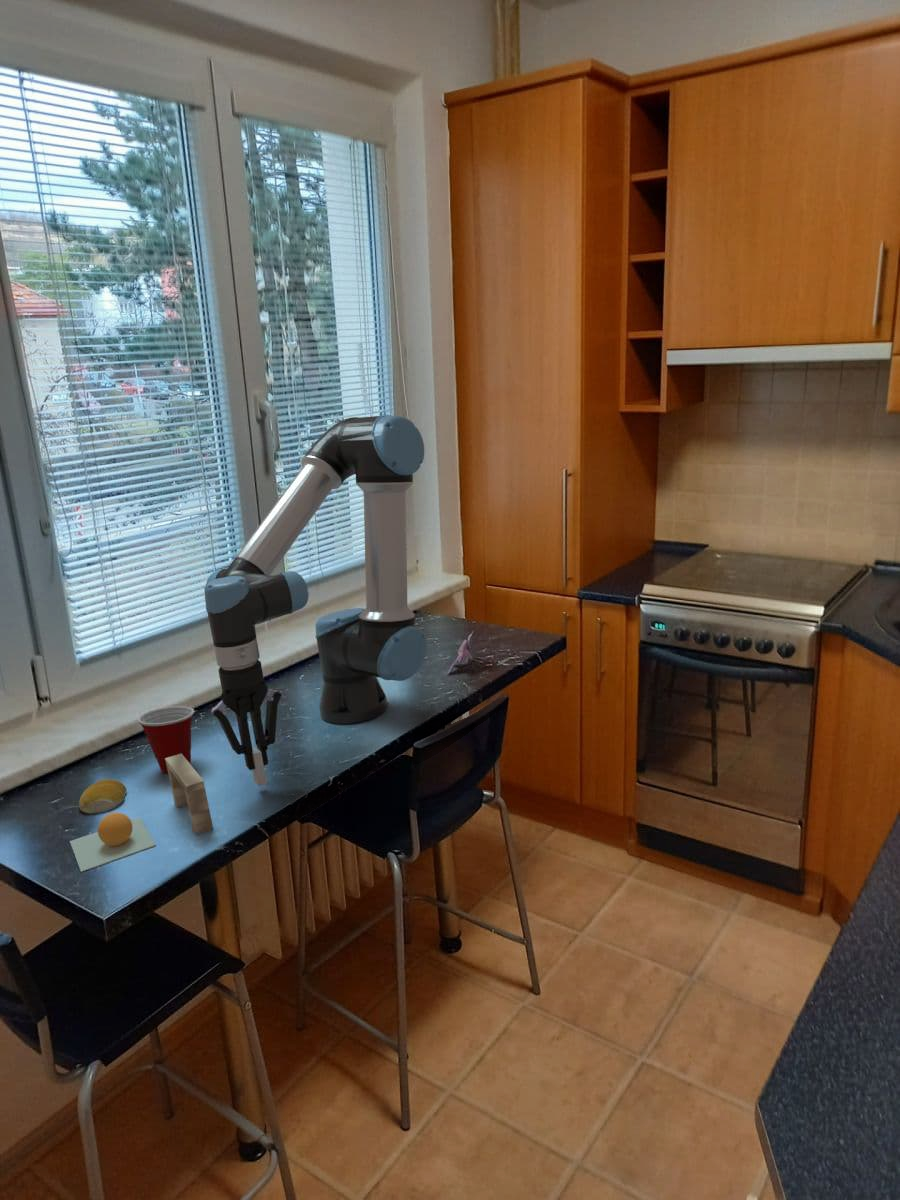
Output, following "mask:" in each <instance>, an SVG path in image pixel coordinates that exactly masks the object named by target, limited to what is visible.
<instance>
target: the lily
mask: <svg viewBox="0 0 900 1200" xmlns="http://www.w3.org/2000/svg"><path fill="white" fill-rule="evenodd" d="M474 632H475V630H473V631H472V633H471V634H469V635H468V637H467V640H466V639H464V640H463V641H462V643H461V645H460V647H457V648H455V650H454V651H455V652H458V655H457V658H456V660H455V662H453V663H452V664H451V666H450V668H449V669H448V672H447V674H450V671H451V669H452V668H453V666H454V665H455V664H456V663H458V662H461V661H463V660H466V659H469V658H471V659H472V660H473V661H474V662H476V664H477V665H478V666H479V667H480V666H481V665H480V663H479V662H478V660H476V658H475V657H473V656H472V655H471V651H470V641H471V637H472V635H473V634H474Z"/></svg>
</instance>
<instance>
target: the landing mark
mask: <svg viewBox="0 0 900 1200" xmlns="http://www.w3.org/2000/svg"><path fill="white" fill-rule="evenodd" d="M130 820H131V822H132V833H131V836H130V837H129V839H128V840H127V841H126V842H125V843H123V844H121V845H118V846H109V845H107V844H105V843H103V842H102V841H101V839H100V838H99V835H98V831H96V832H93V833H90V834H86V835H83V836H81V837H79V838H75V839H73V840H72V839H71V840H69V844H70V846H71V849H72V851H73V854H75V855H74V857H75V860H76V863H77V865H78V868H79V870H80V873H84V872H87V871H90V870H92V869H95V868H98V867H101V866H103V865H106V864H109V863H111V862H115V861H118V860H120V859H123V858H126V857H128V856H130V855H134V854H137V853H139V852H143V851H145V850H148V849H150V848H154V847H156V846H157V844H156V843H155V841H154V839H153V838H152V836H151V834H150V832H149V830H148V829H147V827H146V825H145V823H144V821H143V820H142V818H141V817H136V818H134V819H130ZM89 869H90V870H89ZM86 870H87V871H86ZM83 871H84V872H83Z"/></svg>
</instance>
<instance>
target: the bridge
mask: <svg viewBox="0 0 900 1200" xmlns="http://www.w3.org/2000/svg"><path fill="white" fill-rule="evenodd" d="M165 760H166V765H167V770H168V774H167V775H168V777H169V778H168V779H169V783H170V788H171V793H172V797H173V801H174V805H175V807H178V808H180V807H183V806H186V805H187V808H188V812H189V818H190V823H191V827H192V828H191V829H192V832H193V833H194V834H195V835H196V836H197V835H200V834H203V833H206V832H209V831H211V830H213V829H214V826H213V822H212V821H213V820H212V816H211V810H210V807H209V801H208V796H207V791H206V785H205V780H204V779H203V778H202V777H201V776H200V774H199V773H198V772H197V771H196V770H195V768H194V767H193V766H192V764H191V765H190V763H189V762H188V761H187V760H186V758H185V757H184V756H183V755H182V753H181V754H178V755H175V756H171V757H168V758H165ZM208 830H209V831H208Z"/></svg>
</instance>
